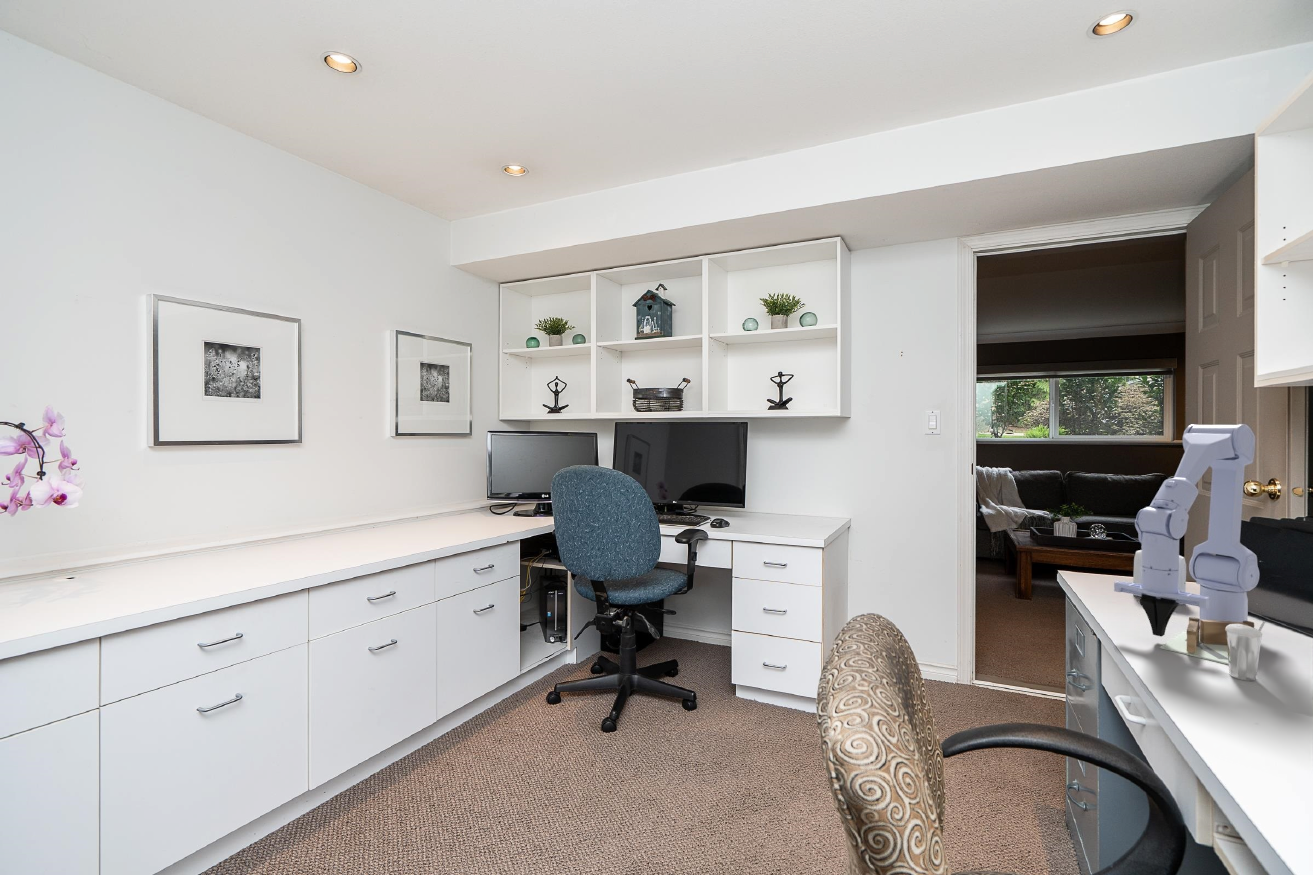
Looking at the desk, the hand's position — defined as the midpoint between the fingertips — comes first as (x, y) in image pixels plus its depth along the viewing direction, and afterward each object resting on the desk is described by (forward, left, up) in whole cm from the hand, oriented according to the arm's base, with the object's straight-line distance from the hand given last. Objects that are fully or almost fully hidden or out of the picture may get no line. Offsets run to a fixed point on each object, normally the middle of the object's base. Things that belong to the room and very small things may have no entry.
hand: (1158, 634), depth 119 cm
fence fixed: (-8, +8, -2) cm, 11 cm away
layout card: (-4, +7, -2) cm, 8 cm away
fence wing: (0, +5, -1) cm, 5 cm away
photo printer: (-37, -10, -2) cm, 39 cm away
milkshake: (+9, +14, -2) cm, 17 cm away
